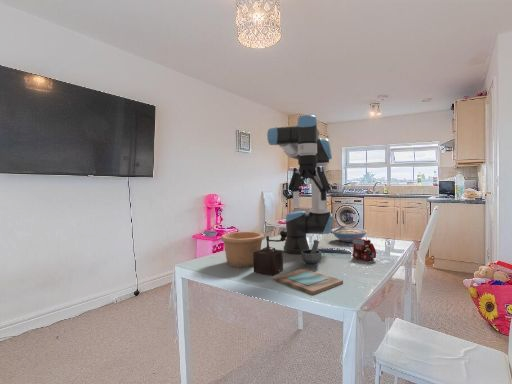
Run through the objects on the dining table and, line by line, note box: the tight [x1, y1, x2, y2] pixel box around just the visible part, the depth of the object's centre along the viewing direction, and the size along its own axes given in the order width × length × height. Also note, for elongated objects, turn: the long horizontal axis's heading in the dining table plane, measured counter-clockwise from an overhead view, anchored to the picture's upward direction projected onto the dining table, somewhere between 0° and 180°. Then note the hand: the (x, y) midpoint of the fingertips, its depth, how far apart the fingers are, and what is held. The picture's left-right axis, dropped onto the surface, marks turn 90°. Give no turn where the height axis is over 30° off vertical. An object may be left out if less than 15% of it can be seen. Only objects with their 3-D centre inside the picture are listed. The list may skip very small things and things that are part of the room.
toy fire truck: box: [352, 238, 377, 262], centre depth 156 cm, size 7×12×10 cm, turn 42°
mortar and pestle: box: [300, 239, 322, 269], centre depth 146 cm, size 11×9×12 cm
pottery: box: [220, 231, 265, 268], centre depth 154 cm, size 22×22×14 cm
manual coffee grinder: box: [253, 230, 288, 277], centre depth 141 cm, size 16×11×18 cm
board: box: [272, 268, 344, 295], centre depth 124 cm, size 22×18×1 cm
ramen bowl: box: [331, 225, 368, 243], centre depth 201 cm, size 25×23×8 cm
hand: (308, 208), depth 121 cm, fingers open, 13 cm apart
